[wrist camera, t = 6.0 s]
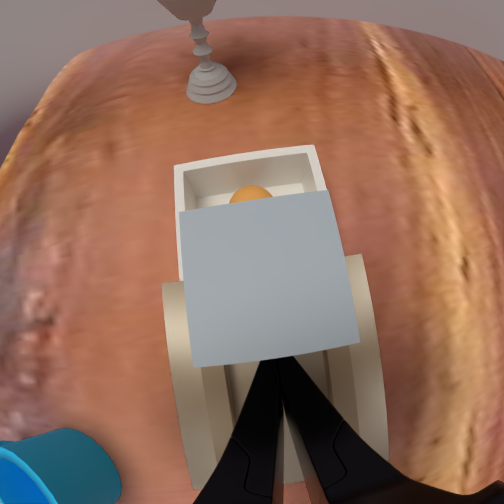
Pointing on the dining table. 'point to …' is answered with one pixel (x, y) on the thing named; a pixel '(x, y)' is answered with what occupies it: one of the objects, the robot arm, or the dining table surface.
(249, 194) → the ball
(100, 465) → the mug
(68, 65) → the dining table surface
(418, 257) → the dining table surface
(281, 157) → the white open storage bin
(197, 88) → the chalice
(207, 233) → the grey rectangular block
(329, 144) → the dining table surface
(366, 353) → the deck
